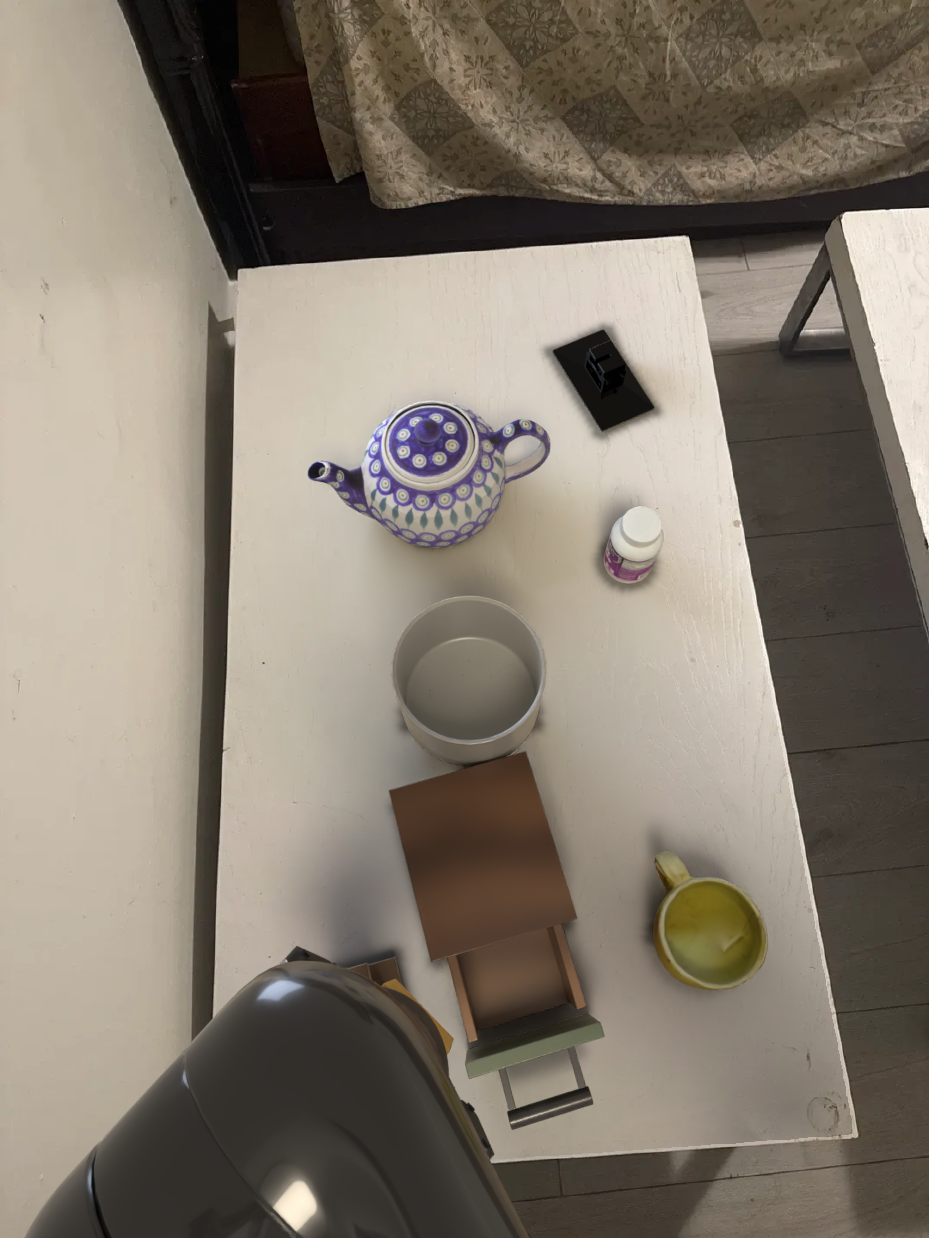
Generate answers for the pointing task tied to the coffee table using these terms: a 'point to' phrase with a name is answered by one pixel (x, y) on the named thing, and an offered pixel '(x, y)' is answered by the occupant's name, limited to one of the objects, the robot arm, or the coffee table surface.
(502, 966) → the drawer
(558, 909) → the cabinet
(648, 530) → the pill bottle
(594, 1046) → the coffee table surface
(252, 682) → the coffee table surface
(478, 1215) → the robot arm
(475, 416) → the teapot
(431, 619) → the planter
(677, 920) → the mug
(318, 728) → the coffee table surface
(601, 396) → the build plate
